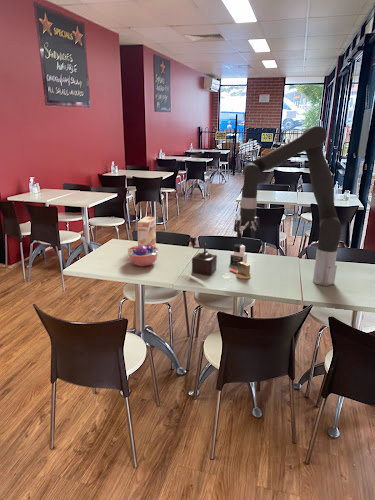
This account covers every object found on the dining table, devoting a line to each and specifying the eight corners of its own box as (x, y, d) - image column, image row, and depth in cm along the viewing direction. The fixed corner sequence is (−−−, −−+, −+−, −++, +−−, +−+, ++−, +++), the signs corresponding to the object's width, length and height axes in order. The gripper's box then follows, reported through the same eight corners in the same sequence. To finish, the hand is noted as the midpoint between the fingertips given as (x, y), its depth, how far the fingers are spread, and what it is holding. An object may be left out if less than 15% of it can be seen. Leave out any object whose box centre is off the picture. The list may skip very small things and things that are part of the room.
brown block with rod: (253, 277, 187) (254, 264, 185) (242, 280, 183) (243, 267, 181) (235, 269, 197) (236, 256, 195) (225, 271, 194) (225, 259, 191)
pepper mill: (217, 271, 198) (218, 238, 192) (210, 278, 188) (211, 244, 183) (190, 267, 204) (190, 235, 198) (182, 273, 194) (182, 240, 188)
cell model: (161, 259, 215) (161, 240, 212) (155, 271, 196) (154, 251, 193) (132, 257, 217) (131, 238, 213) (123, 269, 198) (122, 249, 195)
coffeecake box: (148, 254, 223) (148, 222, 217) (137, 253, 225) (136, 221, 219) (156, 247, 237) (156, 216, 231) (145, 246, 238) (145, 216, 232)
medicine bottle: (229, 266, 205) (230, 245, 201) (234, 262, 211) (235, 242, 207) (242, 269, 202) (243, 247, 198) (246, 265, 208) (248, 244, 204)
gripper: (242, 209, 171) (240, 243, 176) (264, 206, 179) (262, 239, 184) (231, 206, 177) (229, 239, 182) (254, 203, 185) (251, 235, 190)
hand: (246, 239), depth 183 cm, fingers open, 8 cm apart
